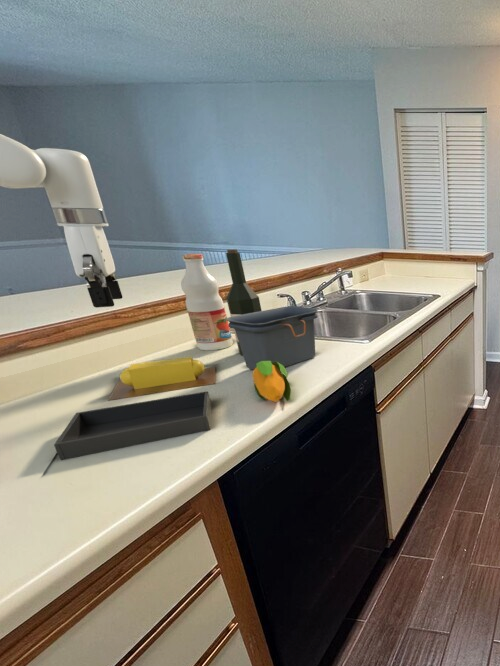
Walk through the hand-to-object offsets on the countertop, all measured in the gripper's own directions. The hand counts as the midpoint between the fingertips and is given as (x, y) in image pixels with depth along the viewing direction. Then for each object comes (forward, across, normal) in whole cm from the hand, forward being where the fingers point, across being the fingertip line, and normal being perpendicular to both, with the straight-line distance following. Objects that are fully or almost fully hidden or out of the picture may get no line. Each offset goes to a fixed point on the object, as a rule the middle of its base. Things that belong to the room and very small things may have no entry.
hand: (109, 302), depth 92 cm
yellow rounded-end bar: (+21, -4, +5) cm, 22 cm away
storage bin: (+21, -6, +32) cm, 39 cm away
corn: (+21, +18, +27) cm, 39 cm away
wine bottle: (+21, -22, +25) cm, 39 cm away
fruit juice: (+21, -34, +15) cm, 43 cm away
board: (+21, -4, +5) cm, 22 cm away
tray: (+21, +24, +4) cm, 33 cm away
